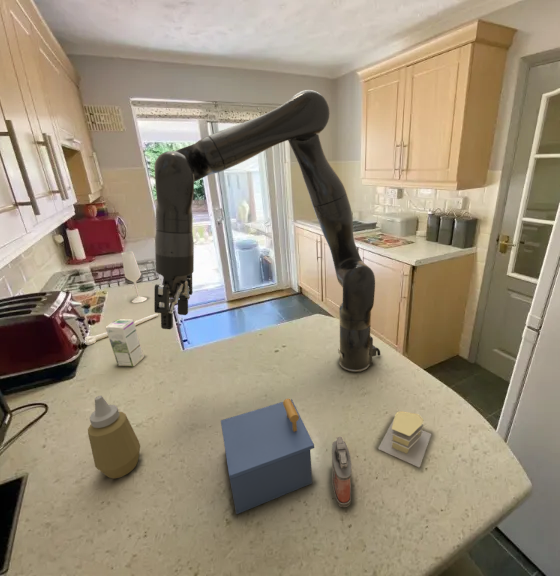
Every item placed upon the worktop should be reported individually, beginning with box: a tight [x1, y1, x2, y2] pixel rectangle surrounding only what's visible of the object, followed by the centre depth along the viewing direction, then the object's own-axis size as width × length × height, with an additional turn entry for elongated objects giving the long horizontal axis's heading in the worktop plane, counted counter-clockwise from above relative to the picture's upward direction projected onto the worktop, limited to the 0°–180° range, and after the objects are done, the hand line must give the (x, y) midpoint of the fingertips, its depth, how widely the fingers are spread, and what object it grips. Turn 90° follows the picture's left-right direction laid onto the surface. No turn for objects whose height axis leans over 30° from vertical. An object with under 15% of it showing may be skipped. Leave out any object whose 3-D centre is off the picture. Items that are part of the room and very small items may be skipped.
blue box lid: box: [220, 398, 315, 480], centre depth 60 cm, size 15×14×5 cm
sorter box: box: [229, 449, 313, 515], centre depth 62 cm, size 15×14×9 cm
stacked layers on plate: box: [377, 410, 432, 469], centre depth 68 cm, size 10×9×6 cm
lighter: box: [331, 436, 352, 508], centre depth 58 cm, size 8×3×10 cm, turn 5°
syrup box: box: [105, 318, 145, 367], centre depth 100 cm, size 6×6×14 cm
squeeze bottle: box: [87, 395, 141, 479], centre depth 62 cm, size 8×8×18 cm
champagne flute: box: [120, 251, 148, 304], centre depth 148 cm, size 7×7×24 cm
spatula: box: [84, 313, 159, 346], centre depth 124 cm, size 28×4×3 cm, turn 148°
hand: (175, 321), depth 71 cm, fingers open, 8 cm apart
